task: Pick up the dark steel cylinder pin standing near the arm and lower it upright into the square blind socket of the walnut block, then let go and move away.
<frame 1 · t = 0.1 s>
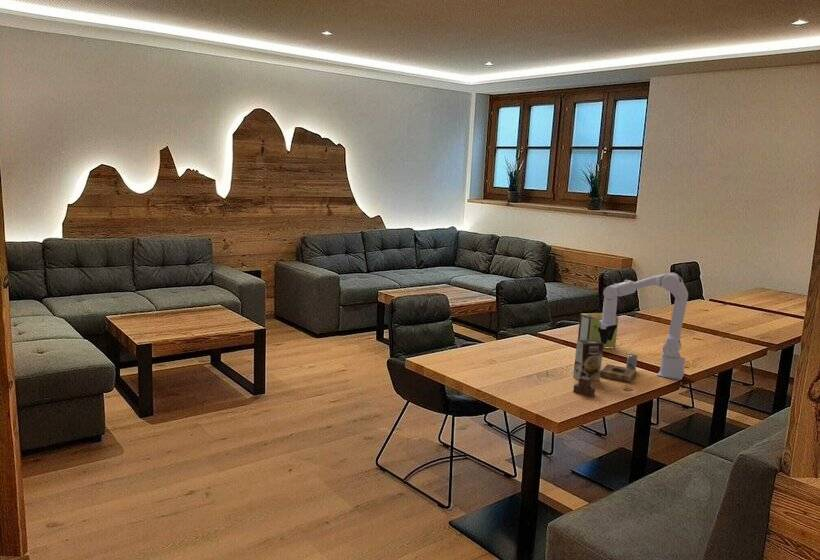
hand: (606, 341, 286), 10 cm above the table, tool pointing down, fingers open, 7 cm apart
pin: (630, 370, 278), on the table
protein box: (596, 346, 316), on the table
socket block: (617, 376, 270), on the table
stack of crates: (584, 394, 249), on the table
coffee box: (586, 379, 265), on the table
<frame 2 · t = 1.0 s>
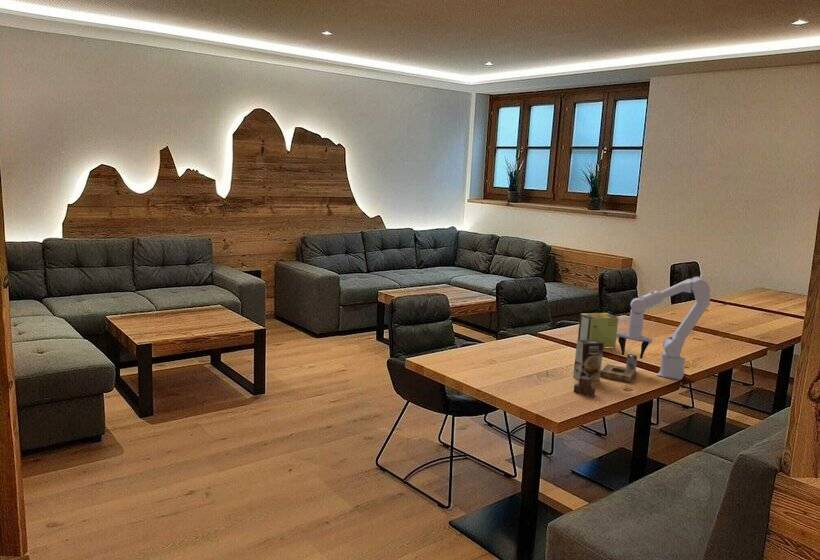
hand: (632, 356, 277), 7 cm above the table, tool pointing down, fingers open, 7 cm apart
nothing on the table moved.
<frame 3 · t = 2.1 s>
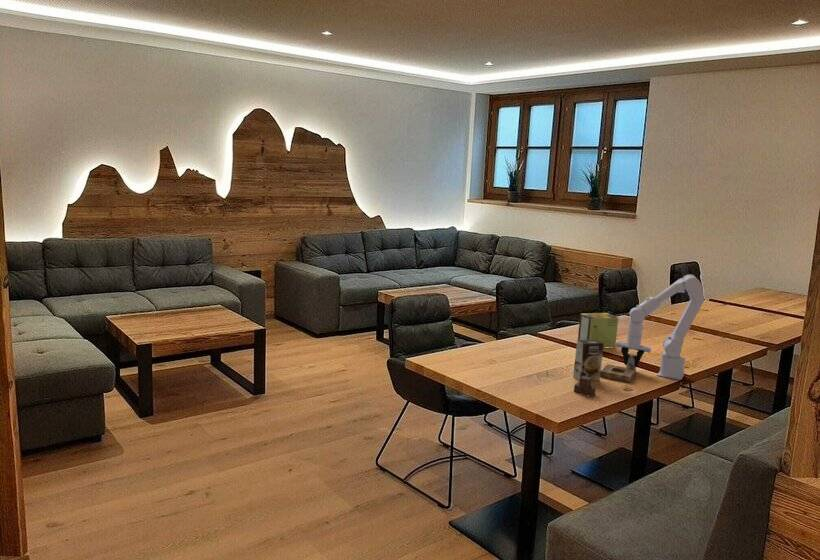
hand: (631, 365, 278), 2 cm above the table, tool pointing down, fingers closed on pin, 4 cm apart
pin: (630, 370, 278), on the table, touching gripper
everything else where it was.
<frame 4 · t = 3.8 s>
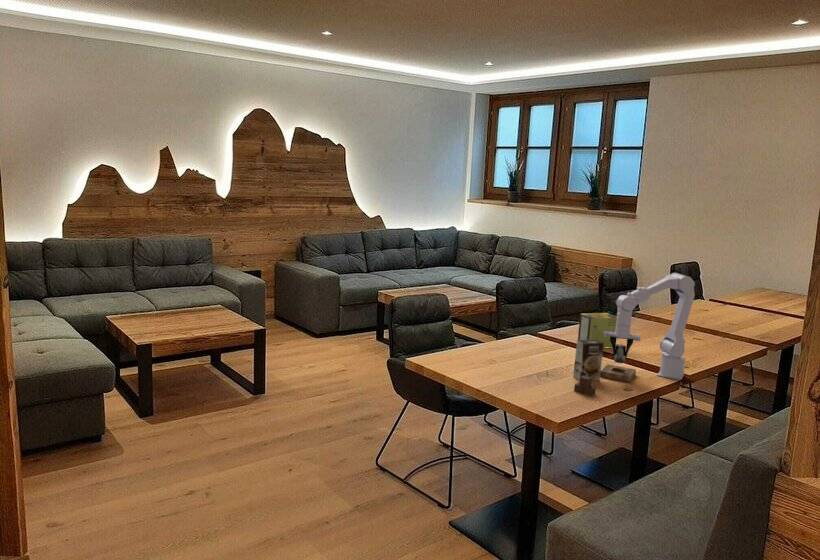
hand: (620, 355, 268), 9 cm above the table, tool pointing down, fingers closed on pin, 4 cm apart
pin: (619, 361, 269), point 6 cm above the table, touching gripper
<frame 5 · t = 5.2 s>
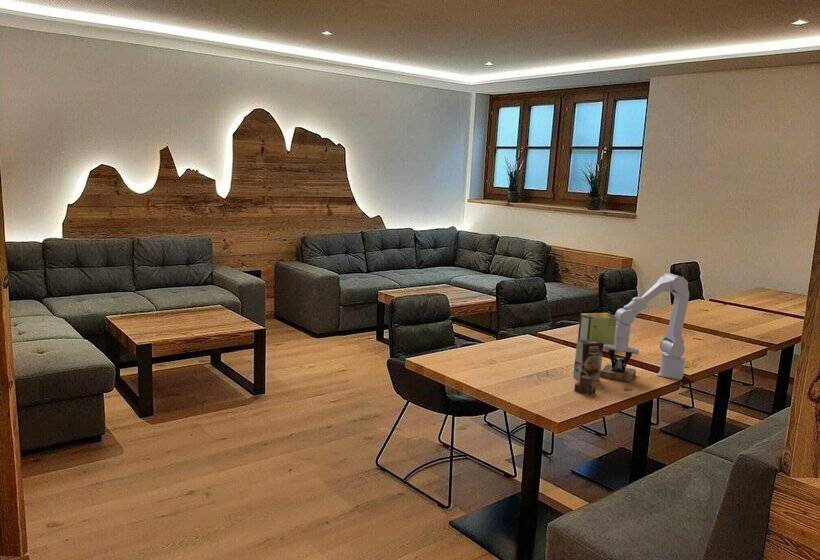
hand: (618, 368, 269), 3 cm above the table, tool pointing down, fingers closed on pin, 4 cm apart
pin: (617, 374, 270), point 1 cm above the table, touching gripper, socket block
when the fingers open (3 cm above the table, at t = 5.8 s): pin stays where it is, resting on socket block.
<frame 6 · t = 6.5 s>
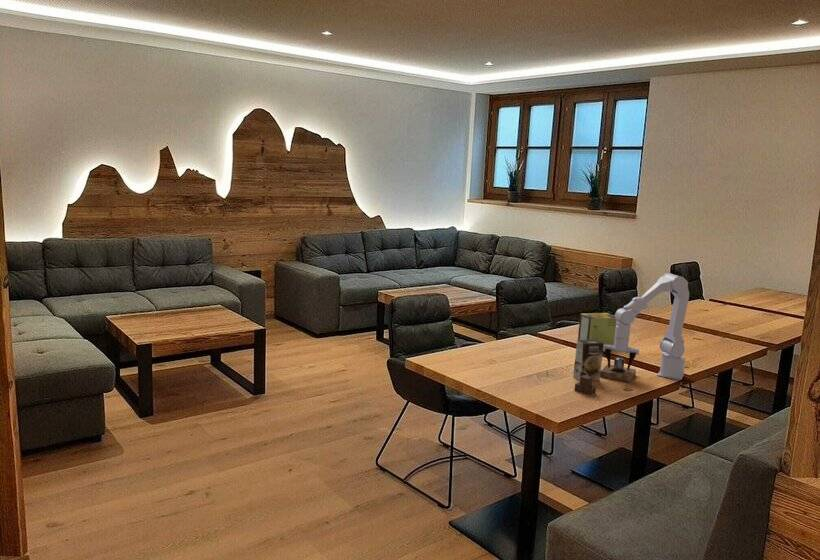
hand: (618, 368, 269), 3 cm above the table, tool pointing down, fingers open, 7 cm apart
pin: (617, 374, 270), point 1 cm above the table, touching socket block
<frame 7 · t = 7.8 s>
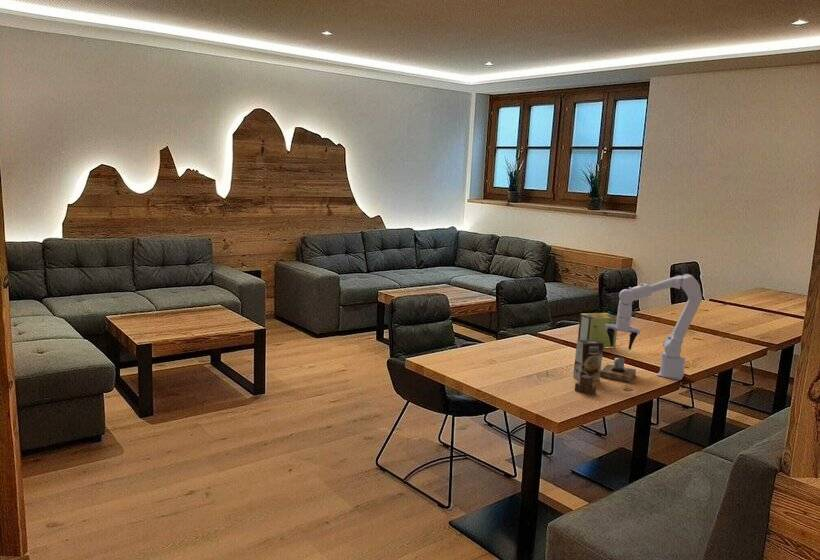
hand: (620, 347, 278), 10 cm above the table, tool pointing down, fingers open, 7 cm apart
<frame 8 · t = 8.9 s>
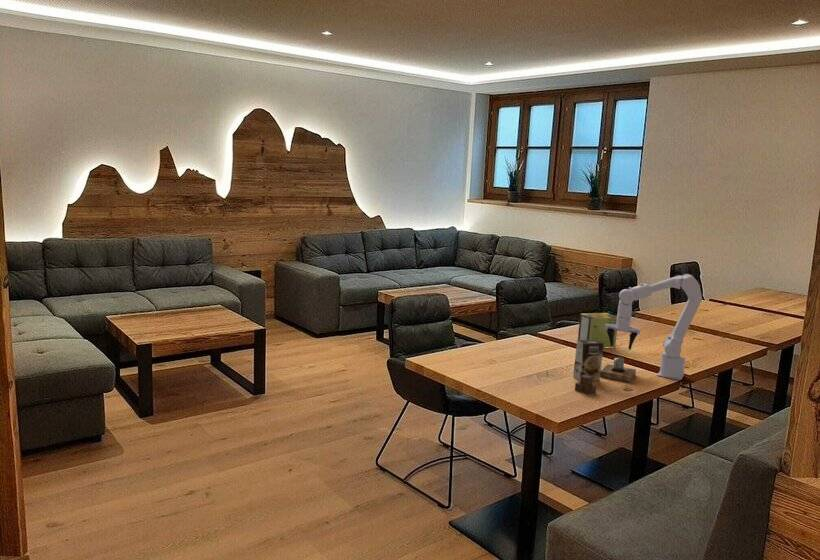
hand: (620, 347, 278), 10 cm above the table, tool pointing down, fingers open, 7 cm apart
at the end: pin 0.4 cm off-centre on the socket block, point 0.6 cm above the socket block's base; pin tilted 2°; the gripper is holding nothing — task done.
